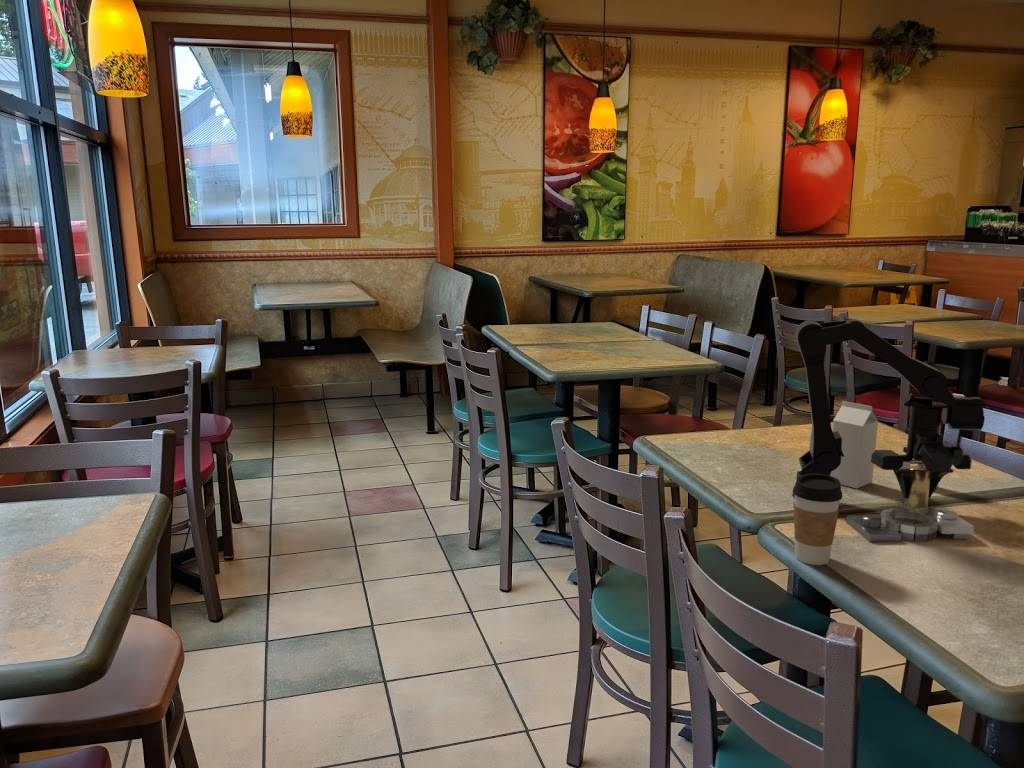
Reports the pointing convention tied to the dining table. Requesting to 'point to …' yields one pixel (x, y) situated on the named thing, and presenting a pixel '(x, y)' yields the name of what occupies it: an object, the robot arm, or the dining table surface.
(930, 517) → the upper link
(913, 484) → the pin
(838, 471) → the milk carton
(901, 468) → the robot arm
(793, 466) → the dining table surface
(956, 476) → the dining table surface
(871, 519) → the lower link
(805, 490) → the coffee cup
